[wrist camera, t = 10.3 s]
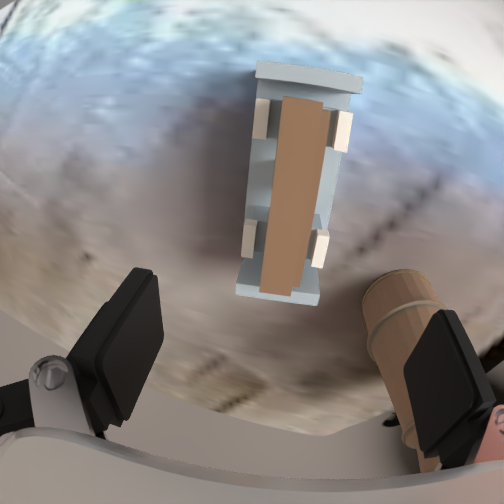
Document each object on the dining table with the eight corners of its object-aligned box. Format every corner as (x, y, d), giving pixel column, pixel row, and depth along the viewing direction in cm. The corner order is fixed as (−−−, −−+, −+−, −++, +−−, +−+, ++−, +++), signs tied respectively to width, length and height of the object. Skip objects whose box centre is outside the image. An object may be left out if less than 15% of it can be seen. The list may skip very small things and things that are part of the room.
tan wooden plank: (283, 96, 21) (282, 96, 17) (324, 102, 21) (333, 104, 16) (264, 258, 28) (258, 292, 24) (298, 263, 28) (298, 297, 23)
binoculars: (342, 297, 35) (368, 518, 13) (414, 250, 31) (513, 460, 9) (409, 377, 41) (437, 525, 19) (463, 345, 37) (515, 490, 15)
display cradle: (260, 69, 24) (249, 60, 17) (349, 82, 24) (370, 78, 17) (243, 249, 33) (229, 293, 26) (317, 259, 33) (322, 306, 26)
